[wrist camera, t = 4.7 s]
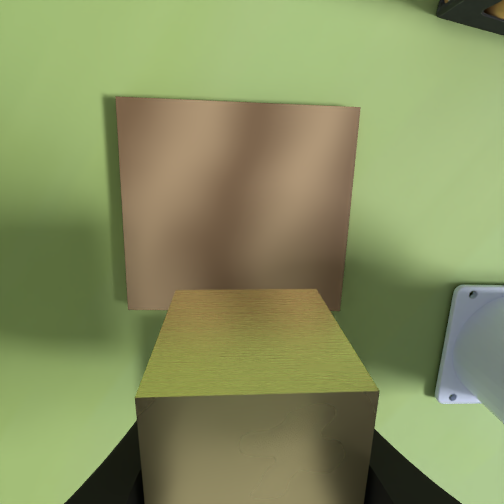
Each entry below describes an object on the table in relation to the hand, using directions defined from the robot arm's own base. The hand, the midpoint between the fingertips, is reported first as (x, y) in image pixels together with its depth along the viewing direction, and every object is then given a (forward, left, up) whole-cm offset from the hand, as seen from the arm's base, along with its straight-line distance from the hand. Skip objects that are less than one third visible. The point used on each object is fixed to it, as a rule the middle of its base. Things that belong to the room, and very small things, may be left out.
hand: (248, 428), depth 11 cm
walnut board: (0, -5, -10) cm, 12 cm away
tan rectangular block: (0, +1, -2) cm, 2 cm away
